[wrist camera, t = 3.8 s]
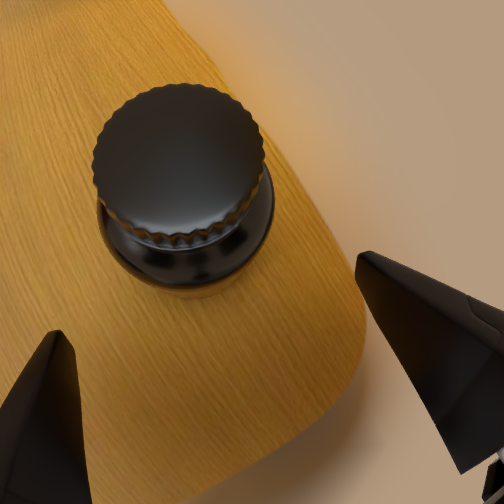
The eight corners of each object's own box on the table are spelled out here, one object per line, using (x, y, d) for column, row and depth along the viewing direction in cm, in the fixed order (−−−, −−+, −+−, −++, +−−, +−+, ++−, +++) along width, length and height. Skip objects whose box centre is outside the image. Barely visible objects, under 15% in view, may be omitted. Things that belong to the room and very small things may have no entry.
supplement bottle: (270, 249, 20) (354, 173, 9) (186, 322, 19) (157, 347, 7) (199, 169, 21) (200, 31, 9) (116, 237, 19) (21, 151, 7)
